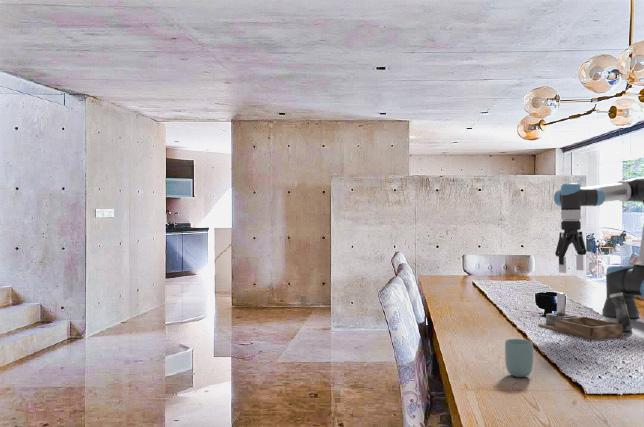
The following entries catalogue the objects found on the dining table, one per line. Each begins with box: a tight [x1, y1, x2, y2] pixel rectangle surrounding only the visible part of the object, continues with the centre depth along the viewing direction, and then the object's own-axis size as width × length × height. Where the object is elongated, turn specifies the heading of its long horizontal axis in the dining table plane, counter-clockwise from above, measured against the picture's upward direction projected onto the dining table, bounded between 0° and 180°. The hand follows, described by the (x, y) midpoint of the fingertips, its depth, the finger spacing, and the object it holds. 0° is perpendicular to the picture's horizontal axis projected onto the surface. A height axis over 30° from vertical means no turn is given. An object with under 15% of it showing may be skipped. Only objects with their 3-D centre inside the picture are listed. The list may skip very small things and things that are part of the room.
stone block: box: [609, 293, 633, 332], centre depth 241 cm, size 9×14×5 cm
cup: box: [504, 338, 534, 378], centre depth 176 cm, size 8×8×10 cm
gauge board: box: [537, 312, 624, 340], centre depth 240 cm, size 16×28×5 cm, turn 23°
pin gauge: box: [556, 292, 566, 316], centre depth 249 cm, size 3×3×13 cm
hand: (571, 271), depth 248 cm, fingers open, 13 cm apart
